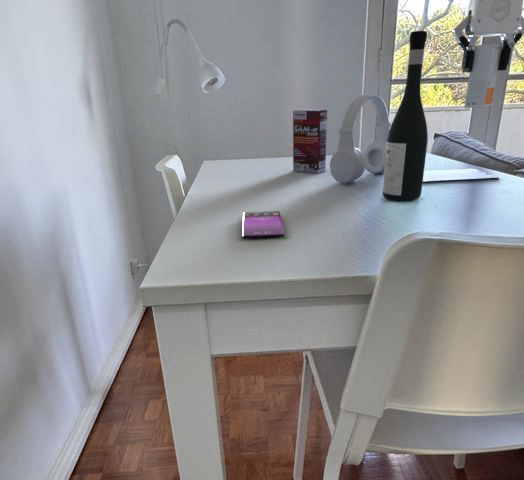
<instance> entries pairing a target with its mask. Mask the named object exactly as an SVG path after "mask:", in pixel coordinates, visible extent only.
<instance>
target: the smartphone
mask: <svg viewBox="0 0 524 480" xmlns="http://www.w3.org/2000/svg"><path fill="white" fill-rule="evenodd" d="M281 237H285V231H284V226H283V221H282V216H281V212H280V211H279V210H269V211H268V210H267V211H266V210H265V211H245V212H243V213H242V223H241V238H242V239H253V238H254V239H257V238H258V239H260V238H281Z"/></svg>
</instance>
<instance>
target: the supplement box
mask: <svg viewBox="0 0 524 480" xmlns="http://www.w3.org/2000/svg"><path fill="white" fill-rule="evenodd" d="M292 124H293V125H292V139H293V140H292V147H293V149H292V153H293V154H292V171H293V172H301V173H302V172H303V173H304V172H305V173H315V174H320V173H322V172H326V166H327V165H326V161H327V135H328V109H304V108H303V109H295V110H293V111H292Z"/></svg>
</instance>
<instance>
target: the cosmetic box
mask: <svg viewBox="0 0 524 480" xmlns="http://www.w3.org/2000/svg"><path fill="white" fill-rule="evenodd" d="M473 50H474V51H475V54H474V61H473V68H472V71H471V72H469V75H468V81H467V88H466V94H465V102H464V109H483V108H489V107H492V106H493V102H494V101H493V100H494V96H495V90H496V84H497V79H498V73H499V70H498V68H499V62H500V56H501V51H502V43H500V44H499V43H487V44H486V43H484V44H477V45H476V44H475V45H474V47H473Z"/></svg>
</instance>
